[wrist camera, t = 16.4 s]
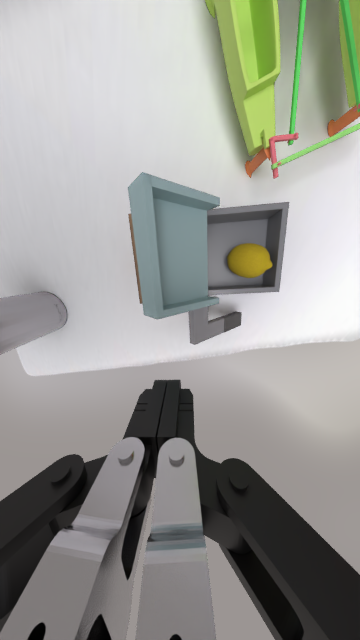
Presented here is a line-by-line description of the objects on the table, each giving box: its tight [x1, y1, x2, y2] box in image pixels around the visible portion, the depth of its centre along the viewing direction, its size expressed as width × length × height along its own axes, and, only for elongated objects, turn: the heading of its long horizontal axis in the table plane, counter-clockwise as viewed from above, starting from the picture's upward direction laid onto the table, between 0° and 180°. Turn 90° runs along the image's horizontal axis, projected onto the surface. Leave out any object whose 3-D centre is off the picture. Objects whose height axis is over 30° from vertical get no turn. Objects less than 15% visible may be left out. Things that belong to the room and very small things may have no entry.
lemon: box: [227, 243, 273, 278], centre depth 29 cm, size 6×6×8 cm
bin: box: [207, 202, 289, 295], centre depth 29 cm, size 13×13×6 cm
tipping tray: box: [128, 172, 241, 345], centre depth 23 cm, size 19×19×3 cm
